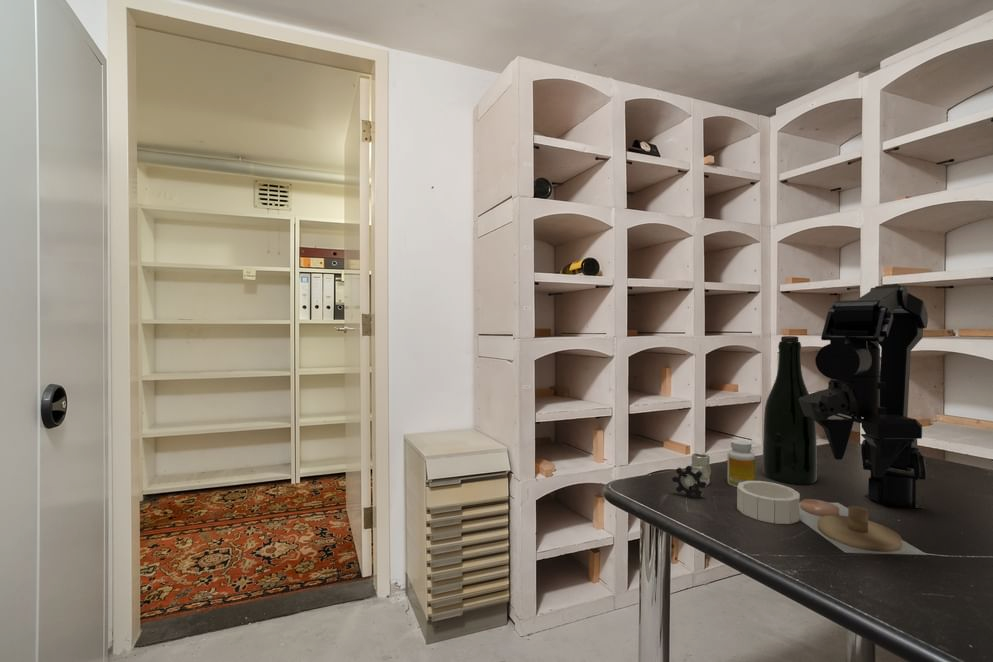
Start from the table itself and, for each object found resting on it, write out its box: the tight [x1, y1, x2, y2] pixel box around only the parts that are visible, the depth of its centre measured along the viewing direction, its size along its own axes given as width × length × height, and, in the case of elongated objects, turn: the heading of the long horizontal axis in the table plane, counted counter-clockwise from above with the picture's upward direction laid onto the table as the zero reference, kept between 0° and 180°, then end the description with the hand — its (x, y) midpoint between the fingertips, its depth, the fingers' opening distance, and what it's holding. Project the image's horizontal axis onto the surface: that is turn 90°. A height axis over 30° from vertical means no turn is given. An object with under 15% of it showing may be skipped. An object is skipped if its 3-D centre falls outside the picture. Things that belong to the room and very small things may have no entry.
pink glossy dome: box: [800, 498, 839, 517], centre depth 86 cm, size 6×6×1 cm
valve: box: [671, 452, 712, 499], centre depth 99 cm, size 7×7×12 cm
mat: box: [799, 501, 928, 556], centre depth 80 cm, size 12×20×1 cm, turn 176°
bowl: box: [736, 480, 801, 525], centre depth 86 cm, size 10×10×4 cm
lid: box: [818, 505, 903, 552], centre depth 76 cm, size 11×11×4 cm
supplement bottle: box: [726, 439, 756, 488], centre depth 100 cm, size 5×5×10 cm
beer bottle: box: [762, 335, 818, 486], centre depth 104 cm, size 10×10×33 cm
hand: (856, 467), depth 76 cm, fingers open, 9 cm apart
